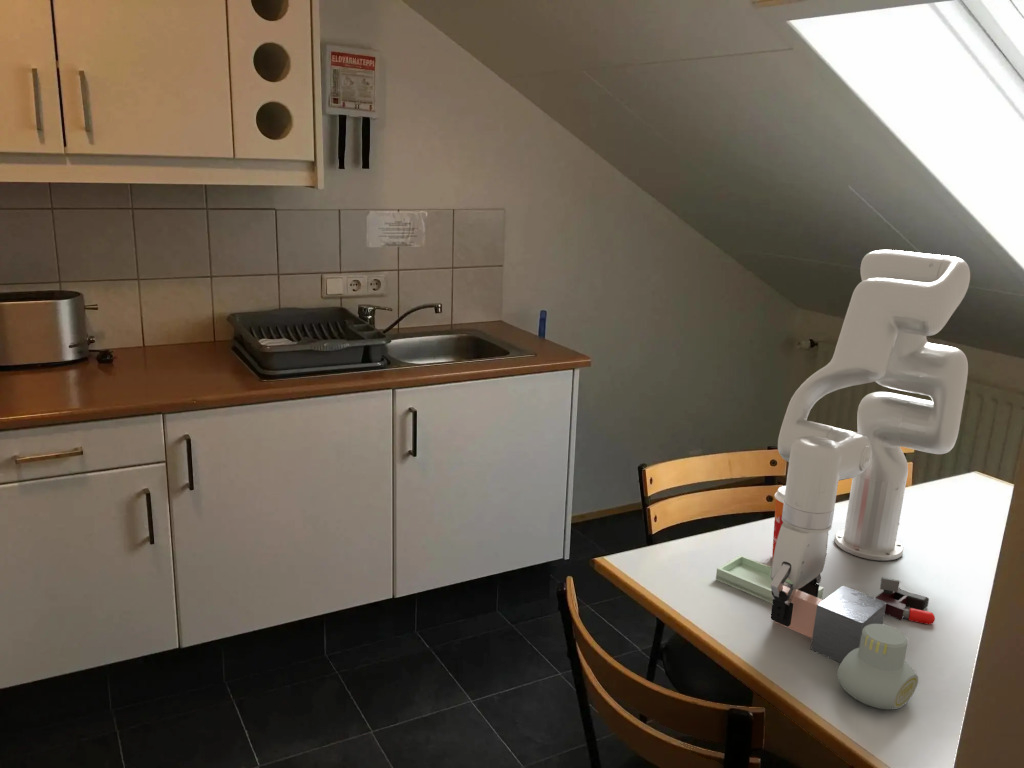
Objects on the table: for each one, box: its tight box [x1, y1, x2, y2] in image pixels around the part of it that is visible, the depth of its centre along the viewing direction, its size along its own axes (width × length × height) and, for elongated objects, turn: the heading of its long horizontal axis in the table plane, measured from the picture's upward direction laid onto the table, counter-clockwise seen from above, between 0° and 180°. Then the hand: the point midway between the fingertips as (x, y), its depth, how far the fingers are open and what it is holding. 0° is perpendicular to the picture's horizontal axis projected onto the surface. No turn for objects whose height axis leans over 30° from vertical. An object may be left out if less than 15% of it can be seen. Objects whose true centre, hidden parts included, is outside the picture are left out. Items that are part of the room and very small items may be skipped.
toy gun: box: [874, 577, 936, 625], centre depth 142 cm, size 10×12×5 cm
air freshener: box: [836, 623, 919, 710], centre depth 119 cm, size 11×8×10 cm
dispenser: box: [810, 585, 887, 664], centre depth 131 cm, size 9×8×8 cm
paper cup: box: [771, 485, 786, 559], centre depth 158 cm, size 8×8×14 cm
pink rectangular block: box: [773, 586, 824, 639], centre depth 135 cm, size 2×11×6 cm, turn 45°
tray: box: [715, 554, 824, 604], centre depth 149 cm, size 8×16×2 cm, turn 45°
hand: (793, 612), depth 137 cm, fingers open, 8 cm apart
